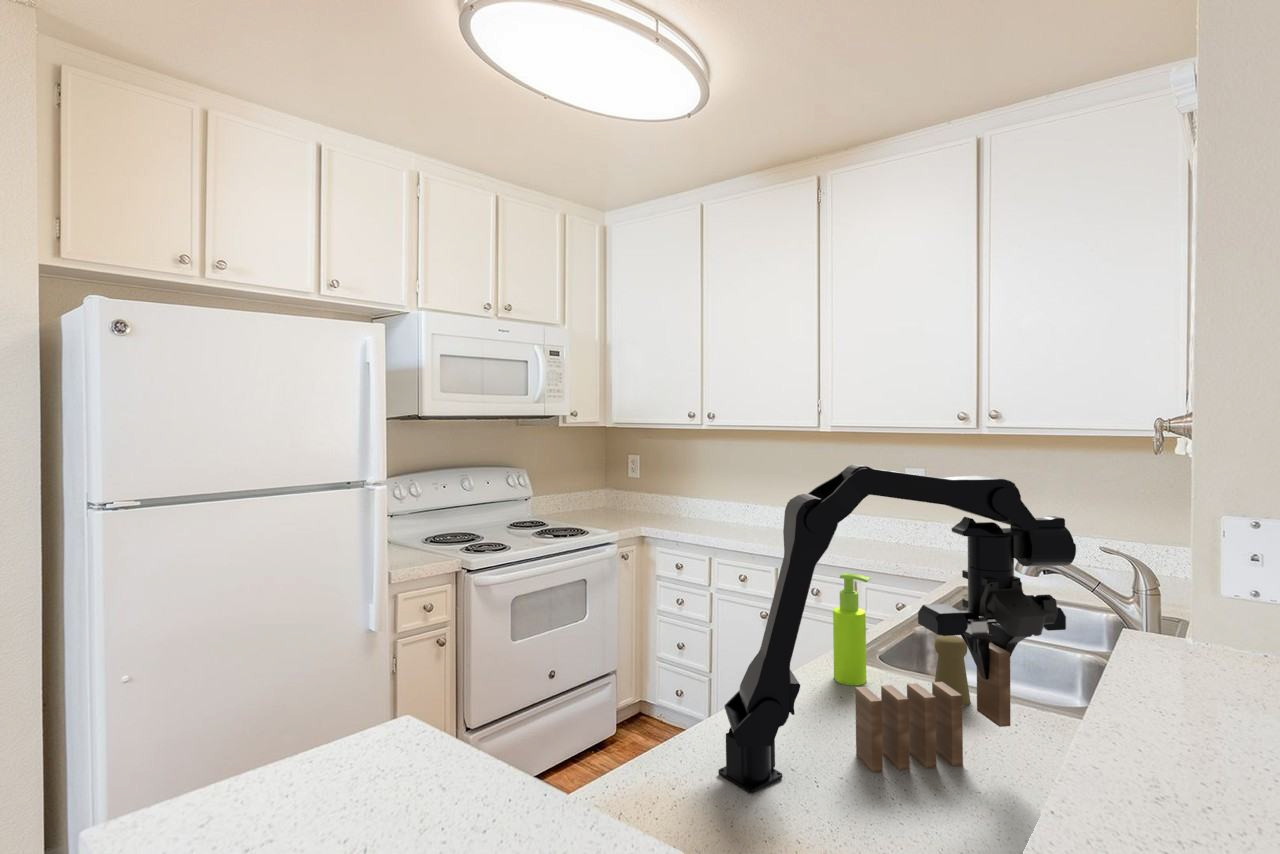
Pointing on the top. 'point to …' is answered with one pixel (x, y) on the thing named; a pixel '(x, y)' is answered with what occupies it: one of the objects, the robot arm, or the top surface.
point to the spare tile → (995, 688)
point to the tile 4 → (948, 723)
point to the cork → (952, 665)
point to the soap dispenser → (849, 635)
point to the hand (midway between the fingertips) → (991, 678)
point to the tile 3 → (922, 725)
